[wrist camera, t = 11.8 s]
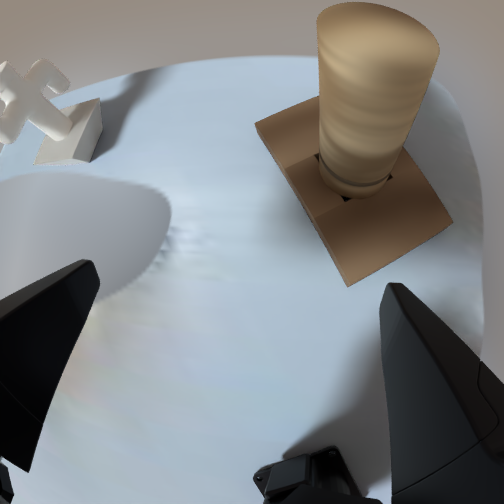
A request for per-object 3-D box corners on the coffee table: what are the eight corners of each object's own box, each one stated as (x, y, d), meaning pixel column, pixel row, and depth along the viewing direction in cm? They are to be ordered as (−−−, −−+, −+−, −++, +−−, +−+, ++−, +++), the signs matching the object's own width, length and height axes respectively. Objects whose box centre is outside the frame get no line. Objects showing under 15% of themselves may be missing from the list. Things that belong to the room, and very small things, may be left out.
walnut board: (445, 228, 18) (453, 222, 17) (347, 287, 19) (350, 285, 17) (347, 95, 22) (348, 84, 21) (257, 133, 23) (254, 123, 21)
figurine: (120, 109, 27) (42, 21, 13) (90, 184, 25) (-20, 106, 11) (78, 118, 29) (4, 49, 14) (50, 186, 27) (-45, 127, 13)
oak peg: (396, 188, 19) (462, 57, 7) (340, 218, 20) (373, 81, 7) (359, 138, 21) (382, -3, 8) (306, 162, 21) (291, 14, 9)
